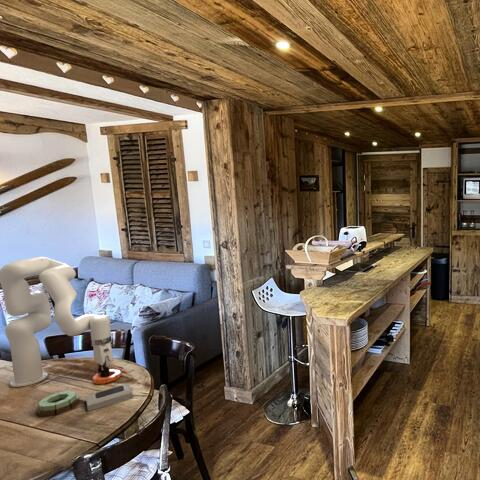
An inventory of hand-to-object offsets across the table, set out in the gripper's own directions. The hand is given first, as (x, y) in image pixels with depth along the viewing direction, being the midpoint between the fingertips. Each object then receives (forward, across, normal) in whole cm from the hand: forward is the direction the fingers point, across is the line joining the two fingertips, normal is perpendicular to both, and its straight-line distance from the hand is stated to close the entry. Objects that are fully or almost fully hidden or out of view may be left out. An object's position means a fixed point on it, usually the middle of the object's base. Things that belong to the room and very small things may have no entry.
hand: (103, 375), depth 175 cm
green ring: (-1, -14, +21) cm, 25 cm away
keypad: (+1, -25, +7) cm, 26 cm away
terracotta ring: (0, -4, 0) cm, 4 cm away
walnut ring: (+1, -14, +21) cm, 25 cm away
